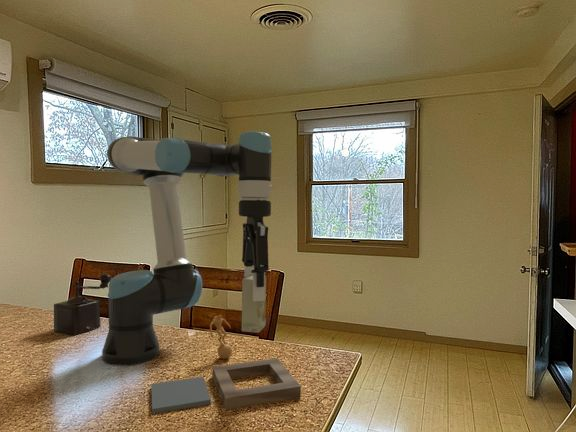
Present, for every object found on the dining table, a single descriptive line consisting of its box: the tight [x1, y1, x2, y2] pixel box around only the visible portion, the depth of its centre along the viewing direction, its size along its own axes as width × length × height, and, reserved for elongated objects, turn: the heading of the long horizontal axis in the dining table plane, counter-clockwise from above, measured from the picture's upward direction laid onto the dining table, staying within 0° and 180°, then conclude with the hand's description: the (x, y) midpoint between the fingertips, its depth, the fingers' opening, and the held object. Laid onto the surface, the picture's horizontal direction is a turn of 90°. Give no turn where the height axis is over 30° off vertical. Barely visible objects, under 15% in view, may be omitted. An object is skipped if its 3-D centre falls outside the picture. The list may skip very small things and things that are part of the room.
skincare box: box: [241, 275, 267, 333], centre depth 94 cm, size 6×4×12 cm
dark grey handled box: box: [53, 273, 113, 337], centre depth 137 cm, size 16×11×18 cm
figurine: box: [209, 314, 233, 360], centre depth 112 cm, size 8×6×12 cm
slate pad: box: [150, 376, 212, 415], centre depth 90 cm, size 12×12×1 cm
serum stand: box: [211, 357, 302, 411], centre depth 94 cm, size 17×17×2 cm
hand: (254, 296), depth 94 cm, fingers closed on skincare box, 7 cm apart
